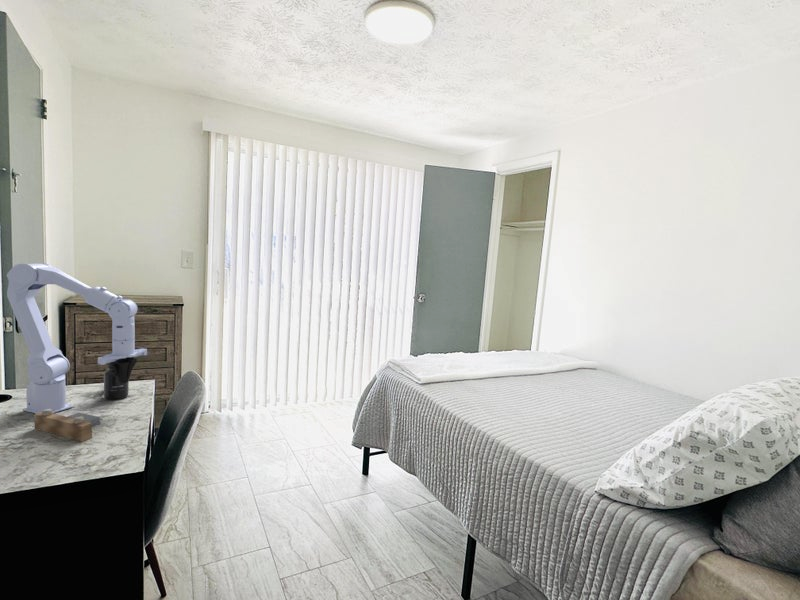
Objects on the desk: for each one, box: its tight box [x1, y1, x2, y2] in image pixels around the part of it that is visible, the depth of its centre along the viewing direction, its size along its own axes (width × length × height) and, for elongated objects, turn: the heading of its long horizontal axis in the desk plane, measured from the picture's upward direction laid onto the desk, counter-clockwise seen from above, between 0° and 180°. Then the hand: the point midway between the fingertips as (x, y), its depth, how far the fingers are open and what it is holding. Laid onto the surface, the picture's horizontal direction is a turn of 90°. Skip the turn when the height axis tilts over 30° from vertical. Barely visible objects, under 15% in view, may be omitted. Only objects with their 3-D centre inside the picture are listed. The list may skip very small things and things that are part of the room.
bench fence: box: [33, 409, 93, 442], centre depth 108 cm, size 18×2×5 cm, turn 72°
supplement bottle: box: [103, 363, 130, 401], centre depth 135 cm, size 7×7×12 cm
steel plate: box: [66, 412, 101, 428], centre depth 113 cm, size 8×6×2 cm
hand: (123, 382), depth 126 cm, fingers closed
